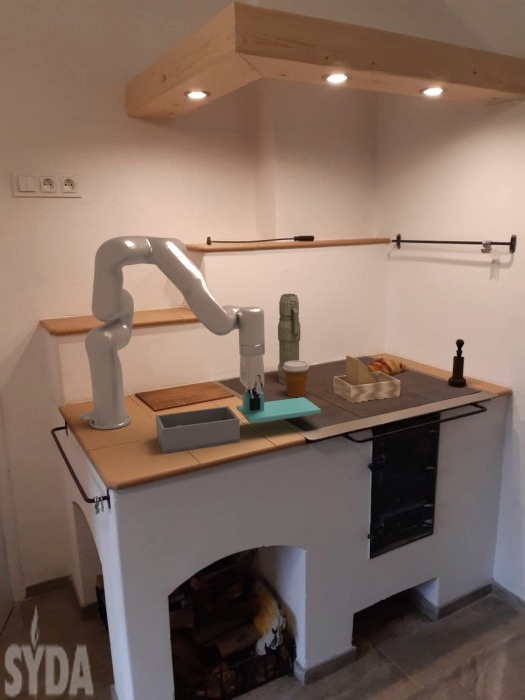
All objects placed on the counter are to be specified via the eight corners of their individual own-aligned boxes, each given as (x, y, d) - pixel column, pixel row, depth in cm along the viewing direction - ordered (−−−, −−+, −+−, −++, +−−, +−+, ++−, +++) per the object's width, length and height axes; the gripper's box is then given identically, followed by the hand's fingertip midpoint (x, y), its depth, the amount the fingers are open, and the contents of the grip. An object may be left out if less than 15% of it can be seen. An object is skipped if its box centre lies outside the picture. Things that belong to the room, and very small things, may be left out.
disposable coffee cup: (279, 397, 191) (279, 365, 189) (287, 390, 200) (287, 359, 197) (305, 400, 188) (305, 367, 185) (311, 392, 197) (312, 361, 194)
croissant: (402, 376, 228) (398, 358, 230) (415, 371, 219) (411, 352, 221) (359, 381, 221) (355, 362, 223) (371, 375, 212) (367, 356, 214)
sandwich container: (394, 395, 193) (395, 355, 189) (358, 401, 187) (359, 360, 183) (380, 388, 200) (381, 350, 197) (345, 394, 195) (346, 354, 191)
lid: (249, 425, 153) (248, 401, 151) (236, 412, 165) (236, 389, 163) (320, 415, 160) (321, 392, 159) (303, 402, 172) (303, 380, 170)
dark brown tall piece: (451, 381, 207) (454, 336, 203) (468, 384, 204) (471, 338, 200) (445, 385, 202) (448, 339, 198) (463, 388, 198) (466, 341, 194)
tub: (163, 453, 145) (162, 429, 144) (157, 437, 156) (155, 415, 155) (240, 441, 152) (239, 419, 151) (228, 427, 163) (227, 406, 162)
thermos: (289, 387, 203) (288, 296, 195) (271, 380, 212) (270, 293, 205) (307, 383, 207) (307, 295, 200) (289, 377, 217) (289, 292, 209)
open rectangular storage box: (351, 403, 184) (351, 386, 183) (333, 392, 197) (333, 376, 195) (399, 396, 190) (400, 380, 189) (379, 386, 203) (379, 371, 201)
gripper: (232, 344, 161) (234, 402, 166) (248, 356, 147) (250, 418, 151) (255, 342, 164) (256, 399, 168) (273, 353, 149) (274, 415, 153)
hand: (253, 408), depth 159 cm, fingers closed on lid, 2 cm apart
